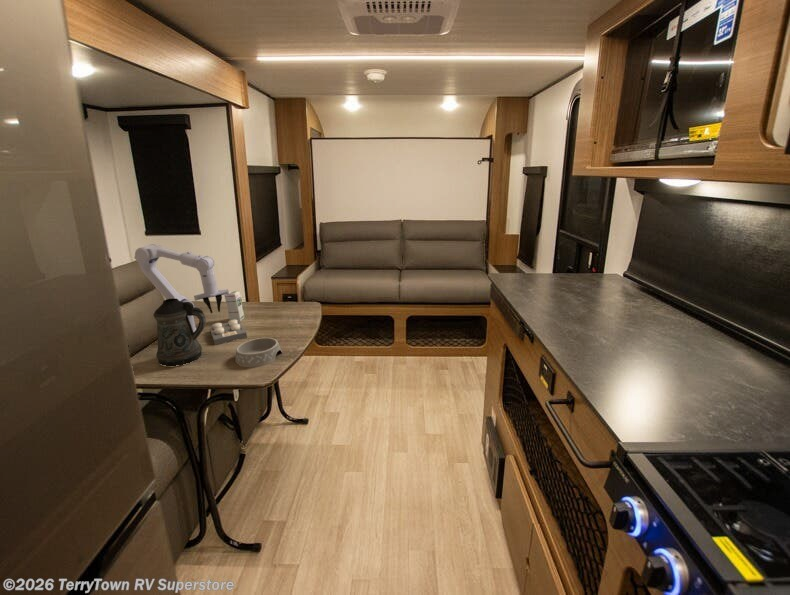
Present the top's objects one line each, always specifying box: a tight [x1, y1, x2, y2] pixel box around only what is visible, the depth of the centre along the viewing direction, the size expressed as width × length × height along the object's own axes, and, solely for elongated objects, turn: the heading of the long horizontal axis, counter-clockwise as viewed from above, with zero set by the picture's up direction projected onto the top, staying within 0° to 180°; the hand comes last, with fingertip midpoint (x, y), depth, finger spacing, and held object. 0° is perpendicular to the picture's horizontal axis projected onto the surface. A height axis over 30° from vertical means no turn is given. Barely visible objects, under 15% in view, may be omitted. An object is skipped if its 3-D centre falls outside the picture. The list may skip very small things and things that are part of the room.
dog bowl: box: [234, 337, 283, 368], centre depth 163 cm, size 17×18×5 cm
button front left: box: [214, 327, 225, 335], centre depth 184 cm, size 4×4×3 cm
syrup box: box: [223, 290, 246, 322], centre depth 205 cm, size 6×6×14 cm
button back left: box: [211, 322, 223, 330], centre depth 190 cm, size 4×4×3 cm
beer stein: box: [153, 298, 207, 366], centre depth 163 cm, size 16×19×25 cm
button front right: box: [231, 324, 241, 331], centre depth 187 cm, size 4×4×3 cm
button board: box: [209, 320, 248, 345], centre depth 188 cm, size 14×19×3 cm
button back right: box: [227, 319, 238, 327], centre depth 193 cm, size 4×4×3 cm
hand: (215, 311), depth 188 cm, fingers open, 3 cm apart
